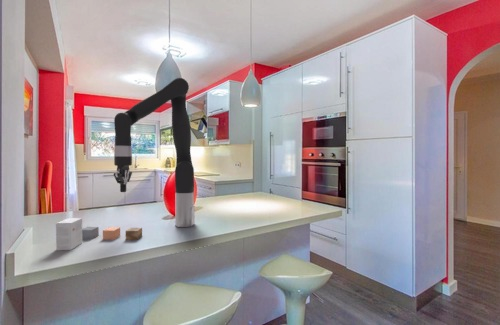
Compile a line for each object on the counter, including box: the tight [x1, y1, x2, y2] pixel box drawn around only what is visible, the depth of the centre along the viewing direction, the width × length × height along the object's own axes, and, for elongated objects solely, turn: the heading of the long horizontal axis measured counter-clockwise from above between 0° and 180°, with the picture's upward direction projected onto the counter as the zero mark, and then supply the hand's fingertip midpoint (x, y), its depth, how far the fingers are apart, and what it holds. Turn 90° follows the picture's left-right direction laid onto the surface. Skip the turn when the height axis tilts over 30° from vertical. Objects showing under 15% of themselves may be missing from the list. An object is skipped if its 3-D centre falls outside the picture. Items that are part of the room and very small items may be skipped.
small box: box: [55, 217, 83, 251], centre depth 103 cm, size 8×6×10 cm
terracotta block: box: [102, 226, 121, 240], centre depth 115 cm, size 5×5×4 cm
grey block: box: [82, 226, 100, 240], centre depth 115 cm, size 5×5×4 cm
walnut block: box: [125, 227, 143, 241], centre depth 114 cm, size 5×5×4 cm
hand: (123, 191), depth 124 cm, fingers closed
